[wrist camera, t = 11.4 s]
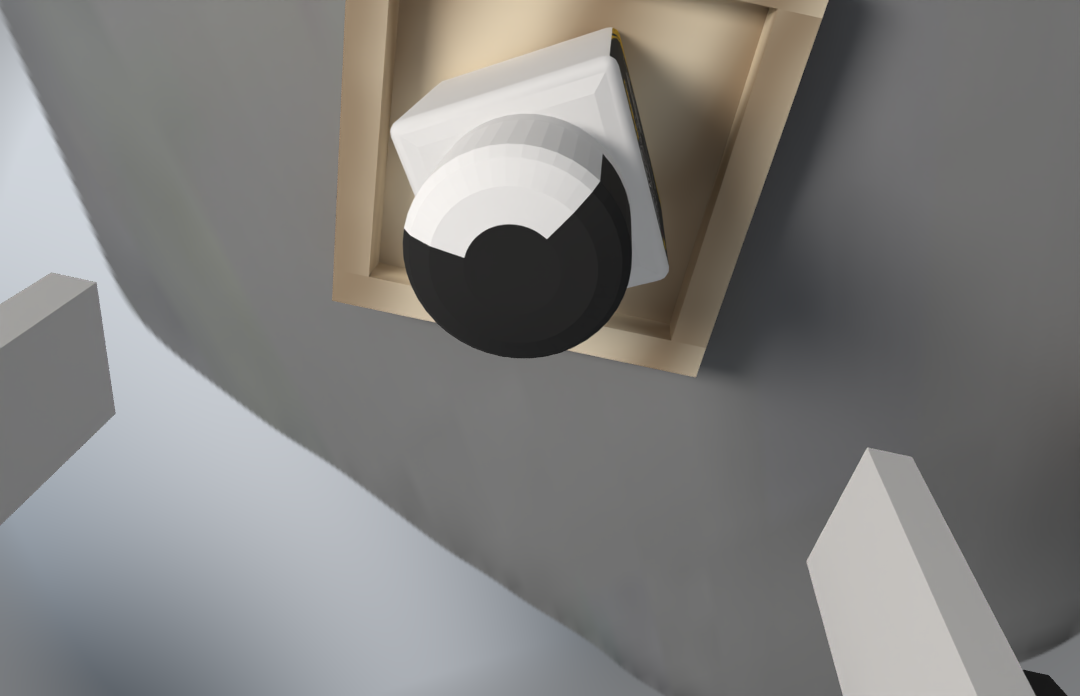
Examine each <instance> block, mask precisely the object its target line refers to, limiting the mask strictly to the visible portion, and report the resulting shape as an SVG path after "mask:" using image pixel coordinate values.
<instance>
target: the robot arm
mask: <svg viewBox="0 0 1080 696" xmlns="http://www.w3.org/2000/svg"><path fill="white" fill-rule="evenodd" d="M114 415H115V407H114V400H113V394H112V386H111V380H110V373H109V366H108V358H107V352H106V346H105V338H104V331H103V324H102V317H101V310H100V304H99V296H98V290H97V283H96V282H93V281H88V280H83V279H79V278H74V277H69V276H65V275H60V274H55V273H50V274H48V275H47V276H45V277H43V278H42V279H40V280H39V281H37V282H36V283H34V284H32V285H31V286H29V287H28V288H26V289H24V290H22V291H21V292H19V293H18V294H16V295H14V296H13V297H11V298H10V299H8V300H6V301H5V302H3V303H1V304H0V525H1V524H2V523H3V522H4V521H5V520H6V519H7V518H8V517H9V516H10V515H11V514H13V512H15V511H16V510H17V509H18V508H19V507H20V506H21V505H22V504H23V503H24V502H25V501H26V500H27V499H28V498H29V497H30V496H31V495H32V494H33V493H34V492H35V491H36V490H37V489H38V488H39V487H40V486H41V485H42V484H43V483H44V482H46V481H47V480H48V479H49V478H50V477H51V476H52V475H53V474H54V473H55V472H56V471H57V470H58V469H59V468H60V467H61V466H62V465H63V464H64V463H65V462H66V461H67V460H68V459H69V458H70V457H71V456H72V455H73V454H74V453H75V452H76V451H77V450H79V449H80V447H81V446H83V444H85V443H86V442H87V441H88V440H89V439H90V438H91V437H92V436H93V435H94V434H95V433H96V432H97V431H98V430H99V429H100V428H101V427H102V426H103V425H104V424H105V423H106V422H107V421H108V420H109V419H110V418H111V417H112V416H114ZM807 565H808V569H809V572H810V576H811V580H812V583H813V587H814V591H815V594H816V598H817V602H818V605H819V609H820V613H821V616H822V620H823V624H824V627H825V631H826V635H827V638H828V642H829V646H830V649H831V653H832V657H833V660H834V664H835V668H836V672H837V675H838V679H839V683H840V686H841V690H842V694H843V696H1067V695H1066V694H1065V693H1064V692H1063V690H1062V689H1060V687H1059V686H1058V685H1057V684H1056V683H1055V682H1054V680H1053V679H1052V678H1051V677H1050V676H1049V675H1045V674H1040V673H1036V672H1031V671H1026V670H1022V668H1021V667H1020V664H1019V662H1018V660H1017V659H1016V657H1015V655H1014V653H1013V651H1012V649H1011V647H1010V645H1009V643H1008V641H1007V639H1006V637H1005V635H1004V633H1003V632H1002V630H1001V628H1000V626H999V624H998V622H997V620H996V618H995V616H994V614H993V612H992V610H991V608H990V606H989V605H988V603H987V601H986V599H985V597H984V595H983V593H982V591H981V589H980V587H979V585H978V583H977V581H976V579H975V577H974V576H973V574H972V572H971V570H970V568H969V566H968V564H967V562H966V560H965V558H964V556H963V554H962V552H961V550H960V549H959V547H958V545H957V543H956V541H955V539H954V537H953V535H952V533H951V531H950V529H949V527H948V525H947V523H946V522H945V520H944V518H943V516H942V514H941V512H940V510H939V508H938V506H937V504H936V502H935V500H934V498H933V496H932V495H931V493H930V491H929V489H928V487H927V485H926V483H925V481H924V479H923V477H922V475H921V473H920V471H919V469H918V468H917V466H916V464H915V462H914V460H913V458H912V457H910V456H905V455H900V454H896V453H891V452H886V451H882V450H877V449H872V448H868V447H867V449H866V451H865V453H864V454H863V456H862V458H861V460H860V462H859V464H858V466H857V468H856V469H855V471H854V473H853V475H852V477H851V479H850V481H849V483H848V484H847V486H846V488H845V490H844V492H843V494H842V496H841V498H840V499H839V501H838V503H837V505H836V507H835V509H834V511H833V513H832V514H831V516H830V518H829V520H828V522H827V524H826V526H825V528H824V529H823V531H822V533H821V535H820V537H819V539H818V541H817V543H816V544H815V546H814V548H813V550H812V552H811V554H810V556H809V558H808V559H807Z"/></svg>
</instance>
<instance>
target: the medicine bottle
mask: <svg viewBox="0 0 1080 696" xmlns="http://www.w3.org/2000/svg"><path fill="white" fill-rule="evenodd" d="M390 132H391V138H392V140H393V143H394V145H395V148H396V150H397V153H398V155H399V158H400V160H401V163H402V165H403V168H404V170H405V173H406V175H407V178H408V180H409V183H410V185H411V187H412V190H413V192H414V195H415V198H414V200H413V202H412V204H411V207H410V209H409V211H408V214H407V218H406V222H405V226H404V233H403V258H404V263H405V268H406V273H407V276H408V278H409V281H410V284H411V287H412V289H413V291H414V293H415V295H416V296H417V298H418V300H419V302H420V303H421V304H422V306H423V307H424V309H425V310H426V312H427V313H428V314H429V315H430V316H431V317H432V318H433V319H434V321H435V322H436V323H437V324H438V325H440V326H441V327H442V328H443V329H444V330H445V331H447V332H448V333H449V334H451V335H452V336H454V337H455V338H457V339H458V340H460V341H461V342H463V343H465V344H467V345H469V346H471V347H473V348H476V349H478V350H481V351H484V352H486V353H490V354H494V355H498V356H502V357H511V358H537V357H545V356H549V355H553V354H557V353H561V352H563V351H566V350H568V349H571V348H573V347H575V346H577V345H579V344H581V343H582V342H584V341H586V340H588V339H589V338H590V337H591V336H593V335H594V334H595V333H597V332H598V331H599V330H600V329H601V328H602V327H603V326H604V325H605V324H606V323H607V322H608V321H609V320H610V318H611V317H612V316H613V314H614V313H615V312H616V310H617V309H618V307H619V305H620V303H621V301H622V299H623V297H624V295H625V292H626V289H627V288H629V287H634V286H638V285H642V284H646V283H650V282H654V281H659V280H661V279H663V278H665V277H666V275H667V274H668V272H669V263H668V255H667V248H666V240H665V232H664V225H663V217H662V209H661V202H660V197H659V193H658V189H657V185H656V181H655V177H654V173H653V169H652V165H651V160H650V156H649V152H648V148H647V144H646V140H645V136H644V132H643V128H642V124H641V120H640V115H639V111H638V107H637V103H636V99H635V95H634V91H633V87H632V83H631V79H630V74H629V70H628V66H627V62H626V58H625V54H624V50H623V46H622V42H621V38H620V34H619V32H618V31H617V30H616V29H614V28H613V27H608V28H604V29H601V30H598V31H595V32H592V33H589V34H586V35H583V36H580V37H576V38H573V39H570V40H567V41H564V42H561V43H558V44H555V45H552V46H549V47H546V48H543V49H540V50H536V51H533V52H530V53H527V54H524V55H521V56H518V57H515V58H512V59H509V60H506V61H503V62H500V63H497V64H493V65H490V66H487V67H484V68H481V69H478V70H475V71H472V72H469V73H466V74H463V75H460V76H457V77H454V78H450V79H447V80H444V81H442V82H440V83H439V84H438V85H437V86H435V87H434V88H433V89H432V90H431V91H430V92H429V93H428V94H426V95H425V96H424V97H423V98H422V99H421V100H420V101H418V102H417V103H416V104H415V105H414V106H413V107H412V108H410V109H409V110H408V111H407V112H406V113H405V114H404V115H403V116H401V117H400V118H399V119H398V120H397V121H396V122H395V123H393V125H392V127H391V130H390Z"/></svg>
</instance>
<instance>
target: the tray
mask: <svg viewBox="0 0 1080 696" xmlns="http://www.w3.org/2000/svg"><path fill="white" fill-rule="evenodd" d="M828 1H829V0H346V4H345V27H344V49H343V72H342V94H341V117H340V139H339V161H338V184H337V206H336V229H335V251H334V273H333V296H332V301H337V302H341V303H346V304H351V305H355V306H360V307H365V308H370V309H374V310H379V311H384V312H389V313H393V314H398V315H403V316H408V317H412V318H417V319H422V320H427V321H431V322H435V321H434V319H433V318H432V317H431V316H430V315H429V314H428V313H427V312H426V310H425V309H424V307H423V306H422V304H421V303H420V302H419V300H418V298H417V296H416V295H415V293H414V291H413V289H412V287H411V284H410V281H409V278H408V276H407V273H406V268H405V263H404V258H403V233H404V226H405V222H406V218H407V214H408V211H409V209H410V207H411V204H412V202H413V200H414V198H415V195H414V192H413V190H412V187H411V185H410V183H409V180H408V178H407V175H406V173H405V170H404V168H403V165H402V163H401V160H400V158H399V155H398V153H397V150H396V148H395V145H394V143H393V140H392V138H391V132H390V130H391V127H392V125H393V123H395V122H396V121H397V120H398V119H399V118H400V117H401V116H403V115H404V114H405V113H406V112H407V111H408V110H409V109H410V108H412V107H413V106H414V105H415V104H416V103H417V102H418V101H420V100H421V99H422V98H423V97H424V96H425V95H426V94H428V93H429V92H430V91H431V90H432V89H433V88H434V87H435V86H437V85H438V84H439V83H440V82H442V81H444V80H447V79H450V78H454V77H457V76H460V75H463V74H466V73H469V72H472V71H475V70H478V69H481V68H484V67H487V66H490V65H493V64H497V63H500V62H503V61H506V60H509V59H512V58H515V57H518V56H521V55H524V54H527V53H530V52H533V51H536V50H540V49H543V48H546V47H549V46H552V45H555V44H558V43H561V42H564V41H567V40H570V39H573V38H576V37H580V36H583V35H586V34H589V33H592V32H595V31H598V30H601V29H604V28H608V27H613V28H614V29H616V30H617V31H618V32H619V34H620V38H621V42H622V46H623V50H624V54H625V58H626V62H627V66H628V70H629V74H630V79H631V83H632V87H633V91H634V95H635V99H636V103H637V107H638V111H639V115H640V120H641V124H642V128H643V132H644V136H645V140H646V144H647V148H648V152H649V156H650V160H651V165H652V169H653V173H654V177H655V181H656V185H657V189H658V193H659V197H660V202H661V209H662V217H663V225H664V232H665V240H666V248H667V255H668V263H669V272H668V274H667V275H666V277H665V278H663V279H661V280H659V281H654V282H650V283H646V284H642V285H638V286H634V287H629V288H627V289H626V292H625V295H624V297H623V299H622V301H621V303H620V305H619V307H618V309H617V310H616V312H615V313H614V314H613V316H612V317H611V318H610V320H609V321H608V322H607V323H606V324H605V325H604V326H603V327H602V328H601V329H600V330H599V331H598V332H597V333H595V334H594V335H593V336H591V337H590V338H589V339H588V340H586V341H584V342H582V343H581V344H579V345H577V346H575V347H573V348H571V349H568V350H569V351H573V352H578V353H583V354H588V355H592V356H597V357H602V358H607V359H611V360H616V361H621V362H625V363H630V364H635V365H640V366H644V367H649V368H654V369H659V370H663V371H668V372H673V373H678V374H682V375H687V376H692V377H696V375H697V372H698V370H699V367H700V364H701V361H702V358H703V355H704V353H705V350H706V347H707V344H708V341H709V338H710V336H711V333H712V330H713V327H714V324H715V321H716V319H717V316H718V313H719V310H720V307H721V304H722V302H723V299H724V296H725V293H726V290H727V287H728V284H729V282H730V279H731V276H732V273H733V270H734V267H735V265H736V262H737V259H738V256H739V253H740V250H741V248H742V245H743V242H744V239H745V236H746V233H747V231H748V228H749V225H750V222H751V219H752V216H753V214H754V211H755V208H756V205H757V202H758V199H759V196H760V194H761V191H762V188H763V185H764V182H765V179H766V177H767V174H768V171H769V168H770V165H771V162H772V160H773V157H774V154H775V151H776V148H777V145H778V143H779V140H780V137H781V134H782V131H783V128H784V126H785V123H786V120H787V117H788V114H789V111H790V108H791V106H792V103H793V100H794V97H795V94H796V91H797V89H798V86H799V83H800V80H801V77H802V74H803V72H804V69H805V66H806V63H807V60H808V57H809V55H810V52H811V49H812V46H813V43H814V40H815V38H816V35H817V32H818V29H819V26H820V23H821V21H822V18H823V15H824V12H825V9H826V6H827V3H828Z"/></svg>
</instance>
